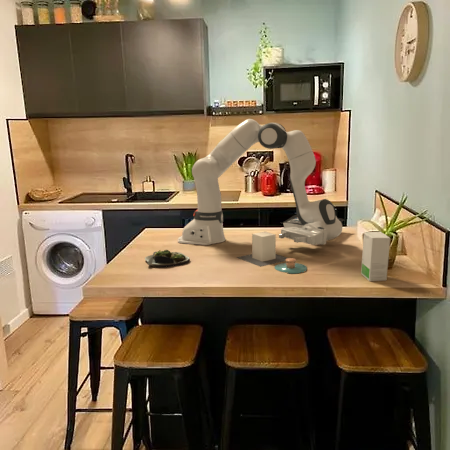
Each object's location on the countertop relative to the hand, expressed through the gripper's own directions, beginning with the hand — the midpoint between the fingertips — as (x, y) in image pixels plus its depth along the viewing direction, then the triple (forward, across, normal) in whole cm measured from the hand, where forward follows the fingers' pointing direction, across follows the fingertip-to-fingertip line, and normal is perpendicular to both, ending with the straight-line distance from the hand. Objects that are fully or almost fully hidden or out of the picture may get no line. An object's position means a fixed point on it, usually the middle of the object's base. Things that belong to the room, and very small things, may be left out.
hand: (287, 238), depth 195 cm
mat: (+12, 0, +7) cm, 14 cm away
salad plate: (+45, -22, +7) cm, 50 cm away
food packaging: (-33, -19, +7) cm, 39 cm away
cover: (+12, 0, +6) cm, 14 cm away
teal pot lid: (+12, +16, +7) cm, 21 cm away
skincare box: (-4, +41, +7) cm, 42 cm away
